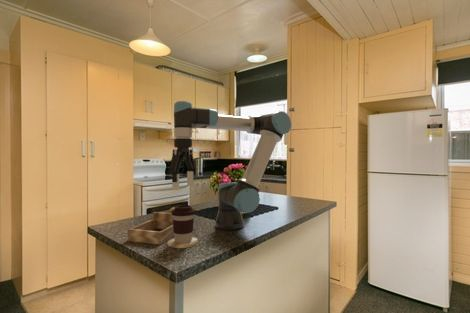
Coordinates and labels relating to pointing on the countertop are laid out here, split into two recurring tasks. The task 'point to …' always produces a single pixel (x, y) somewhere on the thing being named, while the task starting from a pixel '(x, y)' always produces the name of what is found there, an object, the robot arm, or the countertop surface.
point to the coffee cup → (183, 223)
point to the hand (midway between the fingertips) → (183, 187)
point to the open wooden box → (144, 230)
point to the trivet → (177, 245)
